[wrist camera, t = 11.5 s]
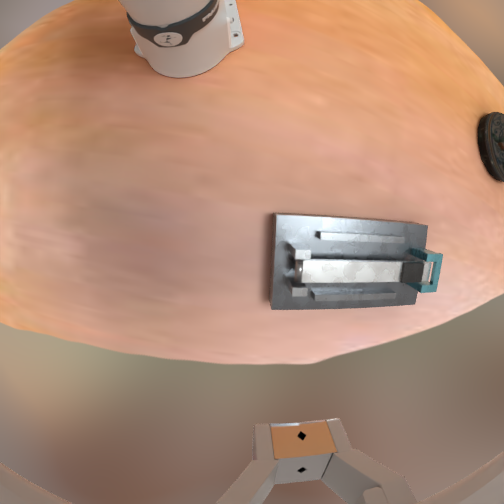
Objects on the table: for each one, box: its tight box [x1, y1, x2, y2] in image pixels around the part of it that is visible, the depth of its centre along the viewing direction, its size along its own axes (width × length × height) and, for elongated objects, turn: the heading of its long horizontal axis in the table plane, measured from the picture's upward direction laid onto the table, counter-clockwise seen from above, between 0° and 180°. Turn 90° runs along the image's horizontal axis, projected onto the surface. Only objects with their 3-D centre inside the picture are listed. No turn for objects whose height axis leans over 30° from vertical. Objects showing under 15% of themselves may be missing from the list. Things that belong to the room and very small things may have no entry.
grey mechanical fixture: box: [269, 213, 443, 310], centre depth 39 cm, size 14×27×8 cm, turn 88°
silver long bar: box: [294, 259, 431, 283], centre depth 36 cm, size 3×23×2 cm, turn 88°
